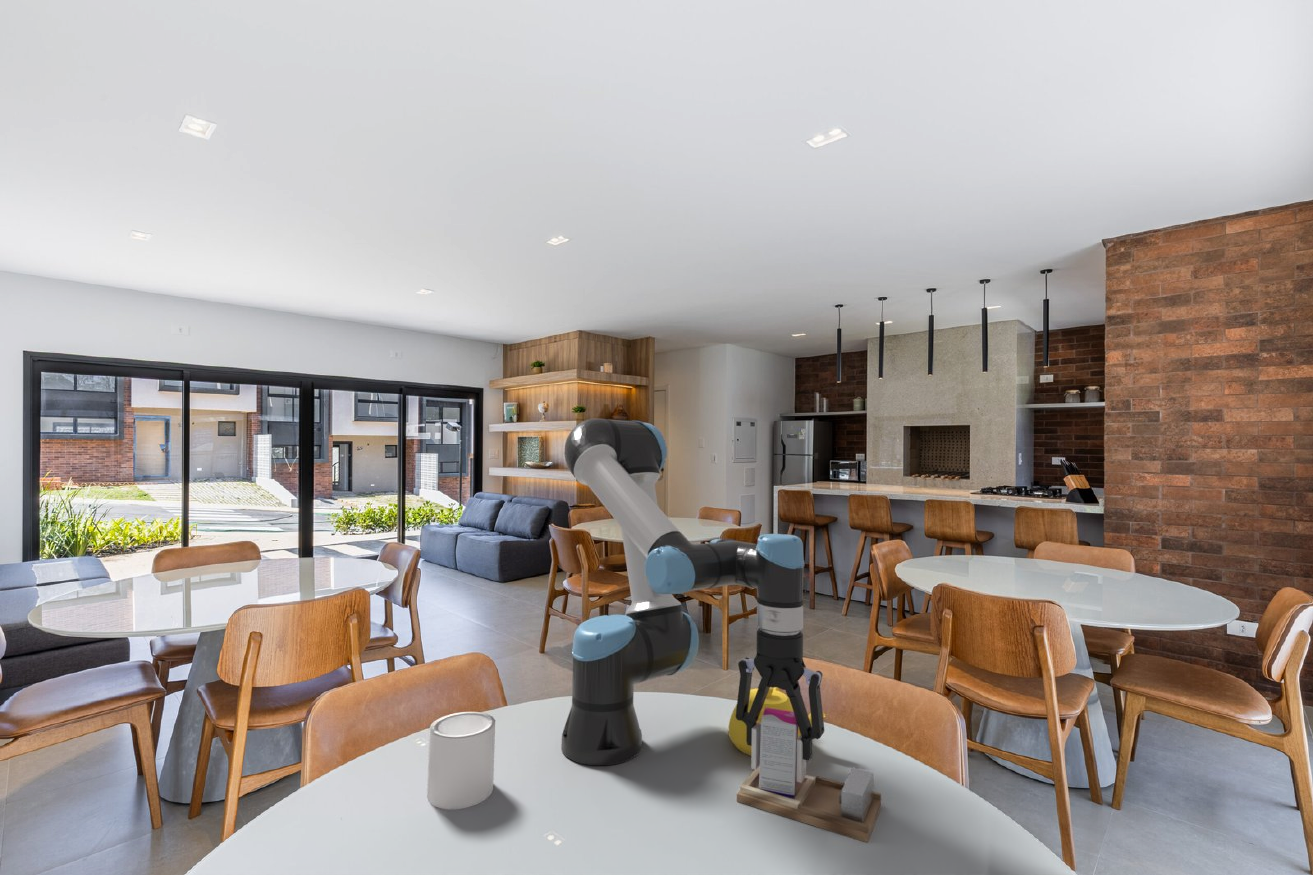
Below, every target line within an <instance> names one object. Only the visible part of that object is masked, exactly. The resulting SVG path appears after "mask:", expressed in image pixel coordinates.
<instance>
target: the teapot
mask: <svg viewBox="0 0 1313 875" xmlns="http://www.w3.org/2000/svg"><path fill="white" fill-rule="evenodd" d="M757 691H758V688H750V697H749V705H748V712H750V709H751V706H752V704H753V701H754V698H755V696H756V693H757ZM736 708H737V704H735V707H734V708H733V711H732V713H731V715H730V718H729V721H728V722H729V724H728V731H727V732H728V736H729V739H730V740H731V742H732V744H733V745H734V746H735V747H736V748H737V750H739V751H741V752H742V753H744V754H745V755H748V756H751V754H752V746H750V745H747V742H746V736H747V726H746V724H745V723H744V722H743V721H741V720H740V721H739V720H737V719H736ZM765 708H771V709H778V710H784V711H791V712H794V711H793V708H792V705H791V702H790V699H789V697H788V696H787V694H786V693H784V692H782V691H780V688H778V687H774V688H772V687H770V689H769V691H768V694H767V696H766V699H765V702H764V704H763V707H762V709H761V712H760V715H759V717H758V718H759V719H758V720H757V721H756V724H757V723H761V719H762V716H763V713H764V710H765ZM826 716H827V715H826V714H825V712H824V711H823V720H824V719H826V718H827V717H826ZM808 717H809V720H810V723H811V726H812V721H811V712H810V713H809V714H808ZM800 735H801V733H800V730H799V727H798V738H799V736H800Z"/></svg>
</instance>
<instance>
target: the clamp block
mask: <svg viewBox="0 0 1313 875" xmlns="http://www.w3.org/2000/svg"><path fill="white" fill-rule="evenodd" d="M844 783H845V785H844V787H843V788H842V791H841V793H840V795H839V803H840V804H842V806H841V817H843V818H847V819H850V820H853V821H857V822H860V823H863V822H864V819H865V817H866V814H867V812H868V809H869V807H870V804H871V802H872V800H873V791H874V772H872V771H868V770H865V769H862V768H861V769H860V768H858V767H857V768H856V767H852V770H851V771H850V773H849V775H848V777H847V779H846V781H845V782H844Z"/></svg>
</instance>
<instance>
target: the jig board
mask: <svg viewBox="0 0 1313 875" xmlns="http://www.w3.org/2000/svg"><path fill="white" fill-rule="evenodd" d="M759 772H760V765H759V767H758V768H757V769H756V770H754V769H753V771H752V773H751V774H750V775H749V776H748V777H747V779H746V780H745V781H744V782H743V783H742V784H741V785H740V786H739V790H738V792H737V793H736V802H737V803H740V804H742V805H747V806H749V807H753V808H756V809H759V810H762V811H766V812H770V813H772V814H775V815H778V816H782V817H785V818H788V819H791V820H795V821H797V822H801V823H803V824H808V825H809V826H810V825H811V826H813V827H816V828H820V829H823V830H827V831H830V832H833V833H836V834H839V835H842V836H845V837H849V838H852V839H854V840H855V839H856V840H858V841H861V842H865V843H868V842H869V840H870V837H871V834H872V831H873V829H874V827H875V824H876V820H877V819H878V815H879V813H880V811H881V810H880V809H881V807H882V792H877V791H874V790H873V800H872V802H871V804H870V807H869V809H868V812H867V814H866V817H865V819H864V822H863V823H860V822H857V821H853V820H850V819H847V818H843V817H841V806H842V804H840V803H839V795H840V793H841V791H842V788H843V787H844V785H845V783H846V782H841V781H837V780H834V779H830V778H826V777H822V776H819V775H816V776H812V775H808V774H806V776H805V778H804V779H803V781H802V782H801V783H800V782H796V786H795V795H794V798H787V797H784V796H781V795H777V794H774V793H771V792H767V791H764V790H760V789H759Z"/></svg>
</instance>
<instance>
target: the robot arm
mask: <svg viewBox="0 0 1313 875" xmlns="http://www.w3.org/2000/svg"><path fill="white" fill-rule="evenodd" d="M563 452H564V453H563V454H564V459H565V460H564V461H565V462H566V466H567V468H568V469H569V472H570V473H571V474H572V475H573V477H574V478H575V480H577V482H578V483H579V484H582V485H583V486H588V487H589V489H590V490H591V491H592V493H594V495H595V496H596V497H597V498H598V500H599V501H600V503H601V504H602V505H603V507H605V509H606V510H607V511H608V513H609V514H610V515H611V516H612V518H613V519H614V520H615V521H616V523H617V524H618V525H619V527H620V528H621V529H620V530H621V536H622V541H623V542H622V543H623V550H624V556H625V564H626V569H627V578H628V583H629V584H628V586H629V590H630V598H631V604H630V606H629V607H628V609H627V610H626V611H625V615H624V614H610V615H607V614H604V615H599V616H594V617H592V618H589V619H587V620H585V621H583V622H581V623H580V624H579V625H578V627H576V629H575V631H574V633H573V634H574V635H573V642H572V649H571V653H572V680H571V681H572V683H571V684H572V688H571V690H572V691H571V707H570V710H569V713H568V716H567V719H566V721H565V724H564V727H563V730H562V733H561V744H560V745H561V753H562V754H563V755H564V756H565V757H566V758H568V759H570V761H573V762H576V763H579V764H583V765H587V766H588V765H589V766H611V765H616V764H617V765H618V764H621V763H623V762H627V761H630V760H632V759H633V758H635V757H636V756H637V755H638V754H639V753H640V752H641V750H642V748H643V734H642V729H641V728H640V724H639V720H638V717H637V713H636V709H635V705H634V691H635V690H634V688H635V685H636V684H639V683H642V682H647V681H650V680H654V679H657V678H658V679H659V678H662V677H666V676H667V677H669V676H672V675H676V674H677V673H679V672H682V671H685V670H687V669H688V668H689V667H690V666H691V665H692V664H693V662H694V660H695V658H696V657H697V654H698V651H699V644H700V643H699V642H700V640H699V639H700V638H699V630H698V627H697V624H696V622H695V621H694V620H693V618H692V617H691V616H690V615H689V614H688V613H686V612H684V611H683V606H682V602H681V601H679V600H678V599H677V598H675V597H674V595H677V594H678V595H681V594H685V593H688V592H694V591H699V590H705V589H713V588H719V587H726V586H733V585H734V586H735V585H737V586H743V587H746V588H747V587H748V588H752V589H756V625H757V626H758V629H757V630H756V654H755V657H754V658H750V657H749V658H748V657H747V656H746V657H744V658H742V659H741V660H740V661H738V663H737V664H738V669H739V670H738V671H739V675H740V676H739V685H738V692H737V702H736V705H737V708H736V719H737V720H739V721H740V720H741V721H743V722H744V723H745V724H746V726H747V736H746V742H747V745H750V746H752V754H751V760H750V761H751V762H750V764H751V765H750V767H751V768H750V769H751V770H753V771H754V770H756V769H757V768H758V767H759V765H760V742H761V723H757V724H756V721H757V720H758V719H759V718H758V717H759V715H760V712H761V709H762V707H763V704H764V702H765V699H766V696H767V694H768V691H769V689H770V687H772V688H774V687H778V688H779V690H783V691H785V695H786V696H787V697H788V698H789V699H790V702H791V705H792V708H793V711H794V715H795V718H796V721H797V724H798V727H799V730H800V733H801V735H800V736H799V738H798V739H797V782H800V783H801V782H802V781H803V779H804V778H805V776H806V775H807V761H810V760H811V758H812V756H813V740H814V739H815V740H820V738H821V737H822V736H823V734H824V733H825V724H824V723H825V722H824V719H823V712H824V711H823V703H822V696H821V682H822V679H823V673H822V671H820V670H816V671H814V670H812V669H810V668H807V667H806V664H805V662H804V634H803V632H802V630H804V599H803V597H804V596H803V593H804V592H803V591H804V573H805V572H804V571H805V560H804V543H803V541H802V538H800V537H799V536H797V535H794V534H782V533H765V534H764V533H763V534H761V535H759V536H758V538H757V543H752V542H745V541H739V540H733V539H732V538H715V539H712V540H711V541H709V542H708V543H696V544H694V543H691V542H690V541H689V539H688V538H687V537H686V536H685V535H684V534H683V533H682V532H681V531H680V530H679V528H678V527H677V526H676V525H675V524H674V523H673V522H672V520H670V518H669V517H668V516H667V515H666V513H664V512H663V510H662V509H661V508H660V507H659V505H658V499H657V498H658V497H657V493H656V486H655V485H656V483H657V482H658V480H659V479H660V478H661V474H660V473H661V472H660V471H661V470H662V469H663V468H664V466H665V464H666V460H665V459H666V458H667V457H668V456H667V455H668V450H667V443H666V440H665V438H664V435H663V434H662V432H661V430H659V428H657V427H656V426H655V425H653V424H651V423H649V422H643V421H640V420H624V419H623V420H622V419H610V418H607V419H606V418H598V417H597V418H596V417H595V418H589V419H586V420H584V421H582V422H580V423H579V424H576V425H575V427H573V429H572V430H571V431H570V433H569V434H568V436H567V438H566V441H565V445H564V451H563ZM755 668H756V671H757V672H758V674H759V675H760V677H761V679H760V681H759V684H758V686H757V689H758V691H757V693H756V696H755V698H754V701H753V704H752V706H751V709H750V712H748V705H749V697H750V690H751V689H752V688H751V687H752V678H753V672H754V671H755ZM803 676H804V678H805V683H806V685H808V698H809V700H808V701H809V710H810V713H811V721H812V726H811V723H810V720H809V717H808V715H809V714H808V711H807V708H806V705H805V702H804V699H803V696H802V692H801V686H800V683H799V680H800V679H801V678H802V677H803Z"/></svg>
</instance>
